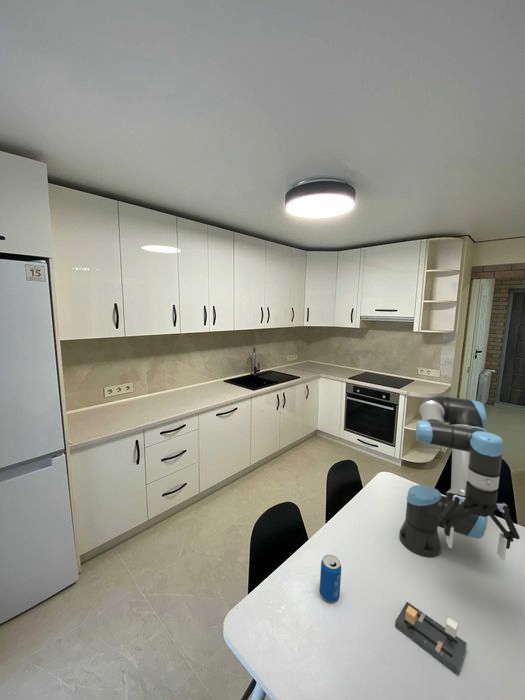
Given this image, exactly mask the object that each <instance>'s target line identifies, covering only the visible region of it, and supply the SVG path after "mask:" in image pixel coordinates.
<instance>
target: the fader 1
mask: <svg viewBox="0 0 525 700" xmlns="http://www.w3.org/2000/svg"><path fill="white" fill-rule="evenodd" d="M405 619H406V620H407V621H408V625H409V626H410V627H412V625H414V624H415V622H416V620H417V611H416V610H414V609H413V608H412V607H410V606H408V608H407V610H406V614H405Z"/></svg>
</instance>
